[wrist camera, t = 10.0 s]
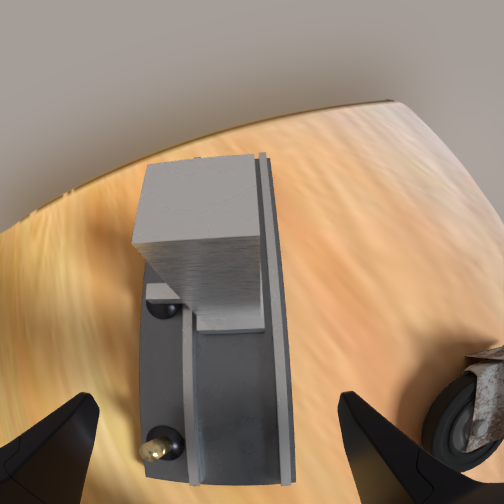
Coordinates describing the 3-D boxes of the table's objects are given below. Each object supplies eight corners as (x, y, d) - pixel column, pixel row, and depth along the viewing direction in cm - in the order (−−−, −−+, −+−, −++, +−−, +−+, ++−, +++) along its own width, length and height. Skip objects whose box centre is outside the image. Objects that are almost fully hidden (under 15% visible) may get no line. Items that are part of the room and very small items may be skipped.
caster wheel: (407, 462, 16) (419, 357, 18) (503, 433, 13) (514, 337, 16) (429, 497, 9) (453, 363, 12) (539, 450, 7) (557, 332, 9)
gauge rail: (293, 475, 14) (302, 499, 10) (153, 471, 14) (127, 489, 10) (269, 169, 25) (270, 133, 21) (164, 177, 25) (151, 144, 21)
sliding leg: (264, 332, 17) (270, 259, 7) (155, 333, 17) (42, 270, 7) (260, 267, 19) (259, 139, 9) (158, 272, 19) (75, 166, 9)
